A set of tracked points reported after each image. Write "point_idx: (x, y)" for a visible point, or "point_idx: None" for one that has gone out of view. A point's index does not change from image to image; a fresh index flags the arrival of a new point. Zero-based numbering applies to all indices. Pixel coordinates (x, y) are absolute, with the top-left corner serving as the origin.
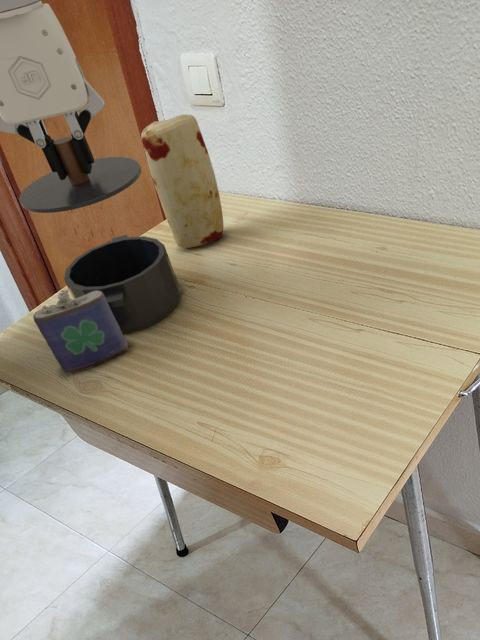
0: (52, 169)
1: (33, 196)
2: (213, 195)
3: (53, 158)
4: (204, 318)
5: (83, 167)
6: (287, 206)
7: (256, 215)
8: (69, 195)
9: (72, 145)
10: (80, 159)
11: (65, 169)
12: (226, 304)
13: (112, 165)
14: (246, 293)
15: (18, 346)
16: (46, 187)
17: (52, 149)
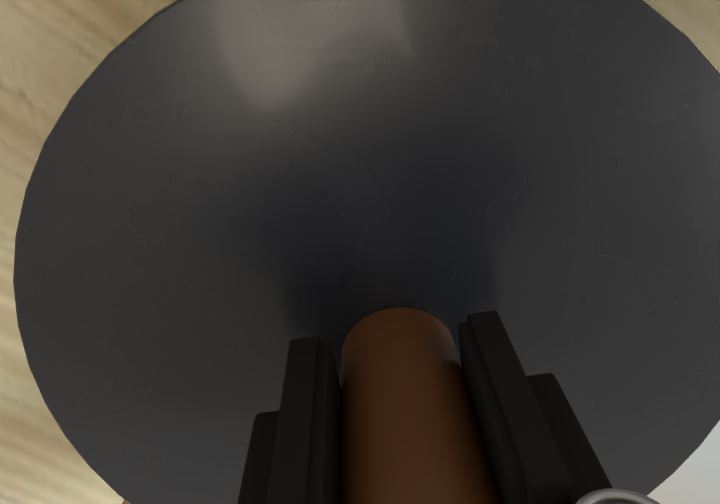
0: (547, 379)
1: (683, 244)
2: (124, 500)
3: (516, 407)
4: (129, 8)
5: (313, 357)
6: (30, 501)
7: (106, 484)
8: (423, 155)
9: (323, 489)
10: (309, 398)
11: (456, 381)
12: (76, 69)
13: None
14: (26, 112)
15: (714, 28)
16: (608, 347)
17: (511, 468)
